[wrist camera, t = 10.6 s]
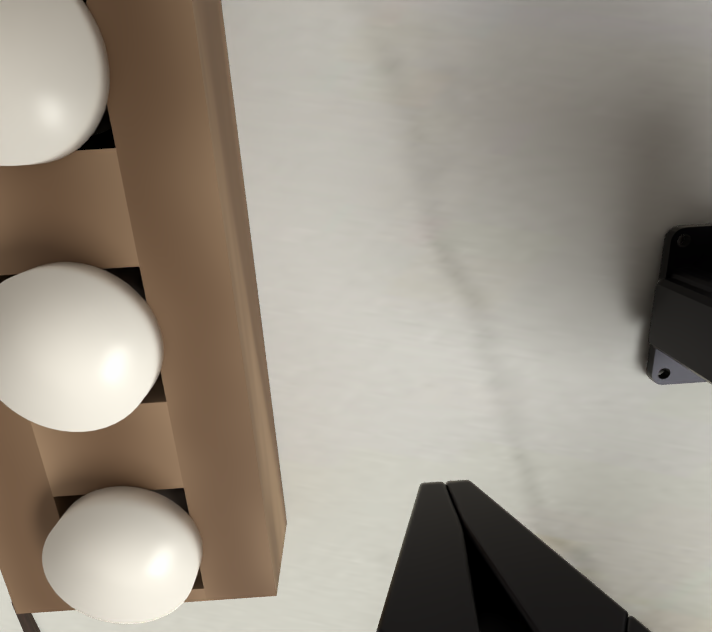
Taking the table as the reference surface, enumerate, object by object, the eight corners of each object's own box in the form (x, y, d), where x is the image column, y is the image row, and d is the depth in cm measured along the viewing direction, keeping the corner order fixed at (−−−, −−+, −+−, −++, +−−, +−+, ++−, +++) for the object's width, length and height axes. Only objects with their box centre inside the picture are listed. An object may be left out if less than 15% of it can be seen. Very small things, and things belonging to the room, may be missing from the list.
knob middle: (181, 236, 18) (133, 263, 14) (203, 366, 20) (166, 426, 16) (38, 245, 18) (-53, 275, 14) (72, 375, 20) (0, 437, 16)
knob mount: (217, -28, 16) (180, -79, 13) (286, 522, 23) (276, 595, 20) (-94, -9, 16) (-225, -55, 13) (69, 537, 23) (16, 613, 20)
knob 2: (214, 428, 21) (182, 500, 17) (231, 530, 23) (206, 618, 18) (88, 436, 21) (24, 510, 17) (114, 537, 23) (62, 628, 18)
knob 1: (137, -18, 16) (64, -77, 12) (167, 156, 18) (112, 159, 13) (-29, -8, 16) (-163, -64, 12) (17, 165, 18) (-87, 172, 13)
